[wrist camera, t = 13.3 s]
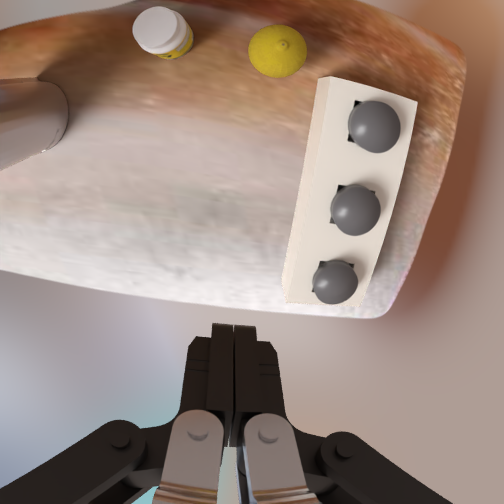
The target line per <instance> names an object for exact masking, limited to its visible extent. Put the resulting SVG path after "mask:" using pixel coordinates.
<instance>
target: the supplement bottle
mask: <svg viewBox="0 0 504 504" xmlns="http://www.w3.org/2000/svg"><path fill="white" fill-rule="evenodd" d="M133 35H134V38H135V39H136V41H137V42H138V44H139V45H140V46H141V48H143V49H144V50H145V51H147V52H149V53H152V54H154V55H156V56H158V57H160V58H163V59H168V60H172V59H177V58H180V57H182V56H184V55H185V54H186V53H188V52H189V50H190V49H191V47H192V45H193V42H194V34H193V31H192V29H191V28H190V26H189V25H188V24H187V22H186V21H185V19H184V18H183V17H182V16H181V15H180V14H179V13H178V12H176V11H173V10H170V9H168V8H166V7H161V6H157V7H152V8H149V9H147V10H145V11H143V12H142V13H141V14H140V15H139V16H138V17H137V18H136V20H135V22H134V24H133Z"/></svg>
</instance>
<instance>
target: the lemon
mask: <svg viewBox="0 0 504 504" xmlns="http://www.w3.org/2000/svg"><path fill="white" fill-rule="evenodd" d="M248 54H249V58H250V61H251V63H252V64H253V66H254V67H255V68H256V69H257V70H258V71H259V72H261V73H262V74H264V75H267V76H270V77H276V78H280V77H286V76H289V75H292V74H294V73H295V72H297V71H298V70H299V69H300V68H301V67H302V66H303V64H304V62H305V60H306V55H307V47H306V43H305V41H304V39H303V37H302V36H301V35H300V34H299V33H298V32H297V31H296V30H295V29H293V28H291V27H289V26H285V25H270V26H266V27H264V28H262V29H260V30H259V31H258V32H257V33H256V34H255V35H254V36H253V37H252V39H251V41H250V44H249V49H248Z"/></svg>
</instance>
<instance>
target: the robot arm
mask: <svg viewBox="0 0 504 504" xmlns="http://www.w3.org/2000/svg"><path fill="white" fill-rule="evenodd" d="M67 122H68V104H67V100H66V97H65V95H64V93H63V91H62V90H61V89H60V88H59V87H58V86H56V85H55V84H53V83H50V82H41V81H39V80H38V79H37V78H15V79H1V80H0V171H1V170H3V169H5V168H8V167H10V166H12V165H14V164H16V163H18V162H20V161H23V160H25V159H27V158H29V157H32V156H34V155H36V154H39V153H42V152H44V151H46V150H48V149H50V148H52V147H53V146H54V145H56V143H57V142H58V141H59V140H60V139H61V137H62V136H63V134H64V131H65V129H66V126H67ZM278 366H279V364H278V357H277V352H276V350H275V349H274V348H273V346H272V345H271V343H270V342H266V341H257V336H256V327H255V326H245V325H234V332H233V325H229V324H218V323H213V324H212V336H211V338H209V337H198V336H196V337H195V339H194V340H193V341H192V342H191V344H190V345H189V346H188V353H187V361H186V366H185V373H184V380H183V388H182V396H181V403H180V409H179V411H178V414H177V415H176V416H175V418H174V419H172V420H171V421H170V422H168V423H166V424H164V425H161V426H157V427H150V428H142V429H140V428H139V427H138V426H136V425H135V424H133V423H132V422H129V421H125V420H114V421H110V422H108V423H106V424H104V425H103V426H101V427H100V428H98V429H97V430H95V431H94V432H92V433H91V434H89V435H88V436H86V437H84V438H83V439H81V440H80V441H78V442H77V443H75V444H74V445H72V446H71V447H69V448H67V449H66V450H64V451H63V452H61V453H59V454H58V455H56V456H55V457H53V458H52V459H50V460H48V461H47V462H45V463H43V464H42V465H40V466H38V467H37V468H35V469H33V470H32V471H30V472H28V473H27V474H25V475H23V476H22V477H20V478H18V479H16V480H15V481H13V482H11V483H9V484H8V485H6V486H4V487H2V488H1V489H0V504H131V503H133V502H134V501H135V500H137V499H138V498H139V497H141V496H142V495H143V494H144V493H146V492H147V491H148V490H150V489H151V488H152V487H154V486H159V487H158V488H157V489H156V491H155V494H154V497H153V501H152V504H217V492H218V482H219V471H220V467H221V464H222V457H223V450H224V447H227V445H228V439H229V447H237V461H236V465H235V470H236V479H237V488H238V496H239V504H453V503H451V502H450V501H448V500H446V499H445V498H443V497H442V496H440V495H439V494H437V493H436V492H434V491H433V490H431V489H430V488H428V487H427V486H425V485H424V484H422V483H421V482H419V481H418V480H416V479H415V478H413V477H412V476H410V475H409V474H408V473H406V472H405V471H403V470H402V469H401V468H399V467H398V466H396V465H395V464H394V463H392V462H391V461H389V460H388V459H387V458H385V457H384V456H383V455H381V454H380V453H379V452H377V451H376V450H375V449H373V448H372V447H371V446H369V445H368V444H367V443H365V442H364V441H363V440H361V439H360V438H359V437H357V436H356V435H354V434H352V433H349V432H335V433H332V434H330V435H329V436H327V437H326V438H325V437H320V436H316V435H311V434H307V433H304V432H302V431H300V430H298V429H296V428H295V427H294V426H293V425H292V424H291V423H290V422H289V420H288V419H287V416H286V413H285V407H284V399H283V392H282V385H281V378H280V371H279V367H278Z"/></svg>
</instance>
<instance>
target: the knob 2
mask: <svg viewBox="0 0 504 504" xmlns="http://www.w3.org/2000/svg"><path fill="white" fill-rule="evenodd" d="M348 131H349V134H350V136H351V138H352V140H353V141H354V142H355V143H356V144H357V145H358V146H359V147H361V148H363V149H365V150H367V151H369V152H372V153H383V152H386V151H388V150H390V149H391V148H392V147H393V146H394V145H395V144H396V143H397V141H398V139H399V136H400V131H401V125H400V120H399V117H398V115H397V113H396V112H395V110H394V109H393V108H392V107H391V106H389V105H388V104H386V103H383V102H379V101H364V102H361V103H359V104H358V105H357V106H354V107H353V110H352V111H351V113H350V115H349V119H348Z"/></svg>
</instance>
